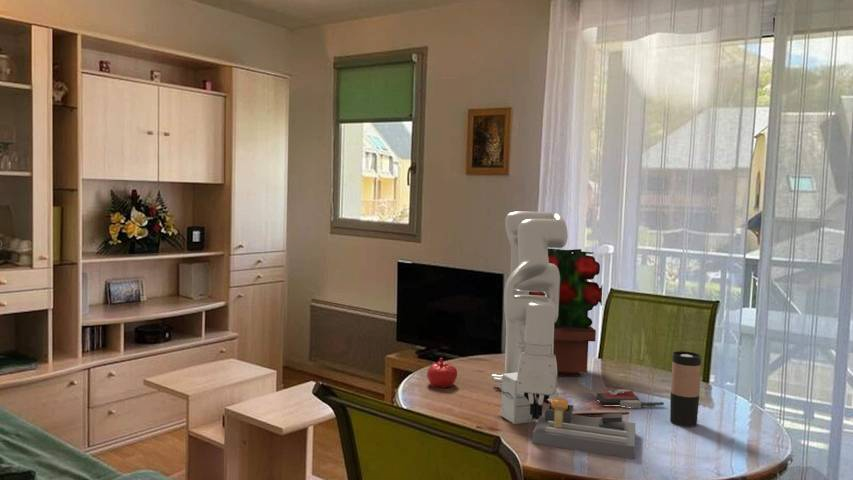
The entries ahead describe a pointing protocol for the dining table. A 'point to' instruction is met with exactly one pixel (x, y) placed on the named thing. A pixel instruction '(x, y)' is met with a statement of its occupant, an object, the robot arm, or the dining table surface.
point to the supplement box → (514, 401)
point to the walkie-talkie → (623, 399)
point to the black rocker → (612, 417)
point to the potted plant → (574, 309)
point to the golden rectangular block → (559, 417)
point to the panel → (585, 434)
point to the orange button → (559, 403)
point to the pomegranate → (442, 374)
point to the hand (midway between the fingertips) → (535, 417)
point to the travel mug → (685, 388)
